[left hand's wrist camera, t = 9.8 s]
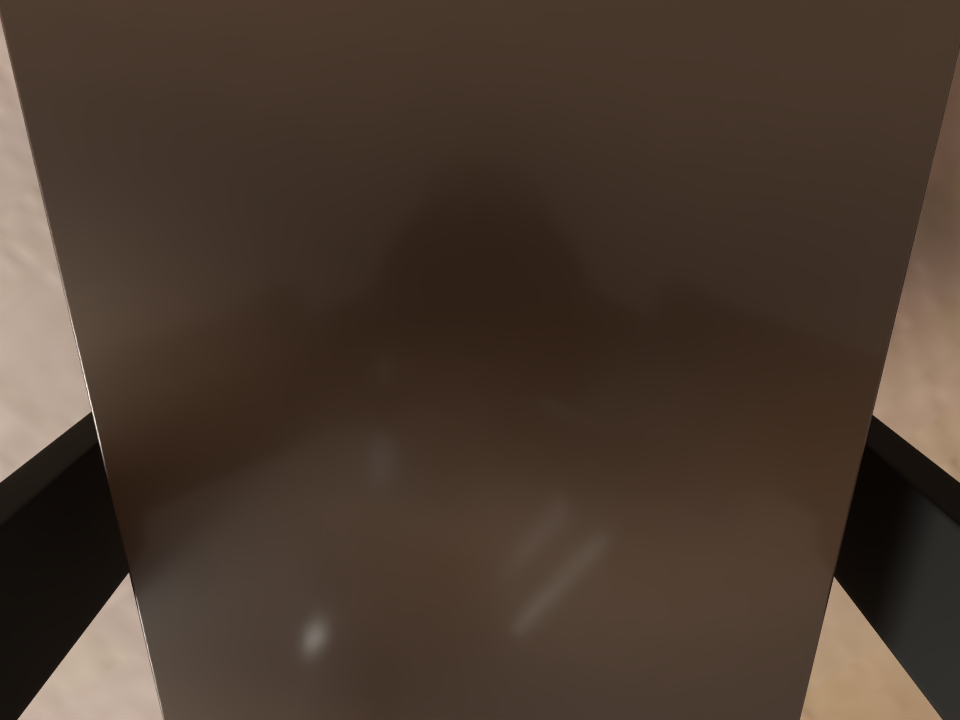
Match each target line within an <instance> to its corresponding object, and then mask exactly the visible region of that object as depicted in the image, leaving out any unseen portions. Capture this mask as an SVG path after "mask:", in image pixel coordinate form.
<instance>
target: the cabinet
mask: <svg viewBox="0 0 960 720" xmlns="http://www.w3.org/2000/svg"><path fill="white" fill-rule="evenodd" d="M0 18H1V22H2V27H3V31H4V35H5V40H6V44H7V48H8V53H9V57H10V61H11V66H12V70H13V74H14V78H15V83H16V87H17V91H18V96H19V100H20V104H21V109H22V113H23V117H24V122H25V126H26V130H27V134H28V139H29V143H30V147H31V152H32V156H33V160H34V165H35V169H36V173H37V178H38V182H39V186H40V191H41V195H42V199H43V203H44V208H45V212H46V216H47V221H48V225H49V229H50V234H51V238H52V242H53V247H54V251H55V255H56V260H57V264H58V268H59V272H60V277H61V281H62V285H63V290H64V294H65V298H66V303H67V307H68V311H69V316H70V320H71V324H72V328H73V333H74V337H75V341H76V346H77V350H78V354H79V359H80V363H81V367H82V372H83V376H84V380H85V385H86V389H87V393H88V397H89V402H90V406H91V410H92V415H93V419H94V423H95V428H96V432H97V436H98V441H99V445H100V449H101V453H102V458H103V462H104V466H105V471H106V475H107V479H108V484H109V488H110V492H111V497H112V501H113V505H114V510H115V514H116V518H117V522H118V527H119V531H120V535H121V540H122V544H123V548H124V553H125V557H126V561H127V566H128V570H129V574H130V578H131V583H132V587H133V591H134V596H135V600H136V604H137V609H138V613H139V617H140V622H141V626H142V630H143V635H144V639H145V643H146V647H147V652H148V656H149V660H150V665H151V669H152V673H153V678H154V682H155V686H156V691H157V695H158V699H159V703H160V708H161V712H162V716H163V720H800V717H801V713H802V708H803V704H804V700H805V696H806V691H807V687H808V683H809V679H810V675H811V670H812V666H813V662H814V658H815V654H816V649H817V645H818V641H819V637H820V633H821V628H822V624H823V620H824V616H825V612H826V607H827V603H828V599H829V595H830V591H831V586H832V582H833V578H834V574H835V570H836V565H837V561H838V557H839V553H840V548H841V544H842V540H843V536H844V532H845V527H846V523H847V519H848V515H849V511H850V506H851V502H852V498H853V494H854V490H855V485H856V481H857V477H858V473H859V469H860V464H861V460H862V456H863V452H864V448H865V443H866V439H867V435H868V431H869V427H870V422H871V418H872V414H873V410H874V406H875V401H876V397H877V393H878V389H879V384H880V380H881V376H882V372H883V368H884V363H885V359H886V355H887V351H888V347H889V342H890V338H891V334H892V330H893V326H894V321H895V317H896V313H897V309H898V305H899V300H900V296H901V292H902V288H903V284H904V279H905V275H906V271H907V267H908V263H909V258H910V254H911V250H912V246H913V241H914V237H915V233H916V229H917V225H918V220H919V216H920V212H921V208H922V204H923V199H924V195H925V191H926V187H927V183H928V178H929V174H930V170H931V166H932V162H933V157H934V153H935V149H936V145H937V141H938V136H939V132H940V128H941V124H942V120H943V115H944V111H945V107H946V103H947V99H948V94H949V90H950V86H951V82H952V77H953V73H954V69H955V65H956V61H957V56H958V52H959V48H960V0H0Z"/></svg>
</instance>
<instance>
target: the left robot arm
mask: <svg viewBox="0 0 960 720" xmlns="http://www.w3.org/2000/svg"><path fill="white" fill-rule="evenodd" d="M128 573H129V570H128V566H127V561H126V557H125V553H124V548H123V544H122V540H121V535H120V531H119V527H118V522H117V518H116V514H115V510H114V505H113V501H112V497H111V492H110V488H109V484H108V479H107V475H106V471H105V466H104V462H103V458H102V453H101V449H100V445H99V441H98V436H97V432H96V428H95V423H94V419H93V415H92V412H91V413H89V414H88V415H87V416H85V417H84V418H83V419H82V420H80V421H79V422H78V423H76V424H75V425H74V426H73V427H71V428H70V429H69V430H67V431H66V432H65V433H64V434H62V435H61V436H60V437H58V438H57V439H56V440H55V441H53V442H52V443H51V444H49V445H48V446H47V447H46V448H44V449H43V450H42V451H41V452H39V453H38V454H37V455H35V456H34V457H33V458H32V459H30V460H29V461H28V462H26V463H25V464H24V465H23V466H21V467H20V468H19V469H17V470H16V471H15V472H14V473H12V474H11V475H10V476H8V477H7V478H6V479H5V480H3V481H2V482H1V483H0V720H17V719H18V718H19V717H20V715H21V714H22V713H23V711H24V710H25V709H26V708H27V706H28V705H29V704H30V702H31V701H32V700H33V698H34V697H35V696H36V694H37V693H38V692H39V690H40V689H41V688H42V686H43V685H44V684H45V682H46V681H47V680H48V678H49V677H50V676H51V675H52V673H53V672H54V671H55V669H56V668H57V667H58V665H59V664H60V663H61V661H62V660H63V659H64V657H65V656H66V655H67V653H68V652H69V651H70V649H71V648H72V647H73V645H74V644H75V643H76V642H77V640H78V639H79V638H80V636H81V635H82V634H83V632H84V631H85V630H86V628H87V627H88V626H89V624H90V623H91V622H92V620H93V619H94V618H95V616H96V615H97V614H98V612H99V611H100V610H101V609H102V607H103V606H104V605H105V603H106V602H107V601H108V599H109V598H110V597H111V595H112V594H113V593H114V591H115V590H116V589H117V587H118V586H119V585H120V583H121V582H122V581H123V579H124V578H125V577H126V576H127V574H128ZM834 577H835V578H836V579H837V581H838V582H839V583H840V585H841V586H842V587H843V589H844V590H845V591H846V593H847V594H848V595H849V597H850V598H851V599H852V601H853V602H854V603H855V605H856V606H857V607H858V609H859V610H860V611H861V612H862V614H863V615H864V616H865V618H866V619H867V620H868V622H869V623H870V624H871V626H872V627H873V628H874V630H875V631H876V632H877V634H878V635H879V636H880V638H881V639H882V640H883V642H884V643H885V644H886V645H887V647H888V648H889V649H890V651H891V652H892V653H893V655H894V656H895V657H896V659H897V660H898V661H899V663H900V664H901V665H902V667H903V668H904V669H905V671H906V672H907V673H908V675H909V676H910V677H911V678H912V680H913V681H914V682H915V684H916V685H917V686H918V688H919V689H920V690H921V692H922V693H923V694H924V696H925V697H926V698H927V700H928V701H929V702H930V704H931V705H932V706H933V708H934V709H935V710H936V711H937V713H938V714H939V715H940V717H941V718H942V719H943V720H960V483H959V482H958V481H957V480H955V479H954V478H953V477H952V476H950V475H949V474H948V473H946V472H945V471H944V470H943V469H941V468H940V467H939V466H937V465H936V464H935V463H934V462H932V461H931V460H930V459H928V458H927V457H926V456H925V455H923V454H922V453H921V452H919V451H918V450H917V449H916V448H914V447H913V446H912V445H910V444H909V443H908V442H907V441H905V440H904V439H903V438H902V437H900V436H899V435H898V434H896V433H895V432H894V431H893V430H891V429H890V428H889V427H887V426H886V425H885V424H884V423H882V422H881V421H880V420H878V419H877V418H876V417H875V416H873V415H872V418H871V422H870V427H869V431H868V435H867V439H866V443H865V448H864V452H863V456H862V460H861V464H860V469H859V473H858V477H857V481H856V485H855V490H854V494H853V498H852V502H851V506H850V511H849V515H848V519H847V523H846V527H845V532H844V536H843V540H842V544H841V548H840V553H839V557H838V561H837V565H836V570H835V574H834Z"/></svg>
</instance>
